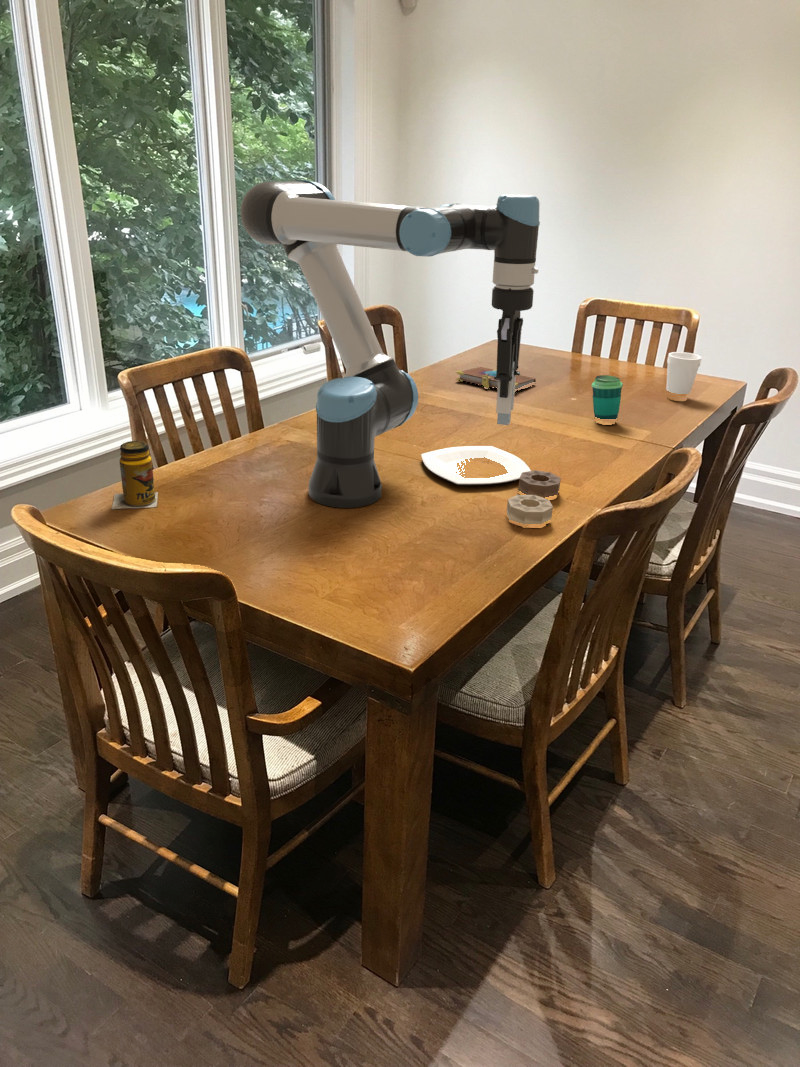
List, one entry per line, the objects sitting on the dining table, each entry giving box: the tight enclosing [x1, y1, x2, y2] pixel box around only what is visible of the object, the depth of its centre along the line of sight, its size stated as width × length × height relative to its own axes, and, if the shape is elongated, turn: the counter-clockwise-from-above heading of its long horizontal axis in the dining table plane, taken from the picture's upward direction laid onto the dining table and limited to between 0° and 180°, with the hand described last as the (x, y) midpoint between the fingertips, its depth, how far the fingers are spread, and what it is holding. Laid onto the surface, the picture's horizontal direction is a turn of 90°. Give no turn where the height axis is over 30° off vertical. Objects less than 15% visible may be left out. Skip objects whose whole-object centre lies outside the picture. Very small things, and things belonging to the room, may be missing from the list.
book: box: [455, 366, 537, 389], centre depth 253 cm, size 16×25×5 cm, turn 54°
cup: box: [591, 374, 624, 419], centre depth 220 cm, size 8×8×12 cm
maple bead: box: [506, 494, 554, 524], centre depth 162 cm, size 8×8×4 cm
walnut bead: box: [517, 469, 562, 498], centre depth 175 cm, size 8×8×4 cm
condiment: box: [111, 440, 159, 510], centre depth 161 cm, size 7×8×12 cm
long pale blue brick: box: [496, 361, 515, 426], centre depth 158 cm, size 2×2×12 cm
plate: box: [420, 445, 532, 486], centre depth 186 cm, size 23×23×2 cm
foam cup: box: [665, 351, 702, 394], centre depth 243 cm, size 10×9×13 cm
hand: (504, 410), depth 160 cm, fingers closed on long pale blue brick, 2 cm apart
